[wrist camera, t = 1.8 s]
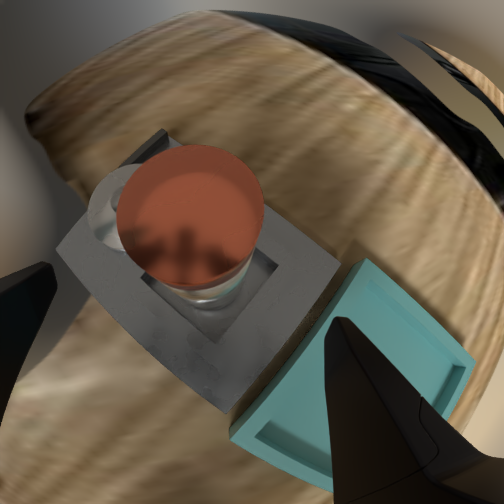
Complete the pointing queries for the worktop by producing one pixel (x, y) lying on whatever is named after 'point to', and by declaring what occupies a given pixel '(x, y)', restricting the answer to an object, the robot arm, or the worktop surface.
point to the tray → (312, 374)
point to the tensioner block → (186, 315)
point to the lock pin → (193, 222)
